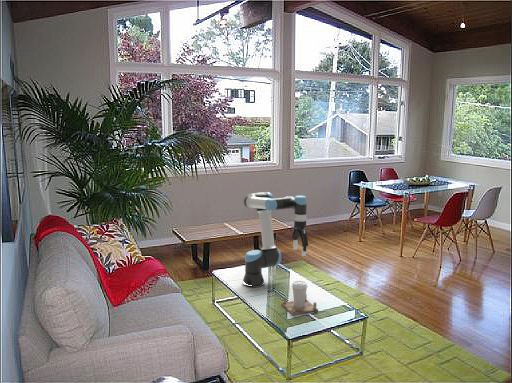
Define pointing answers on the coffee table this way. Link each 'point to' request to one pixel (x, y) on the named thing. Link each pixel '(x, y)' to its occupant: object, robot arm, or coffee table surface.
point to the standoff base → (297, 311)
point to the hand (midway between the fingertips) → (299, 252)
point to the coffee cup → (299, 293)
